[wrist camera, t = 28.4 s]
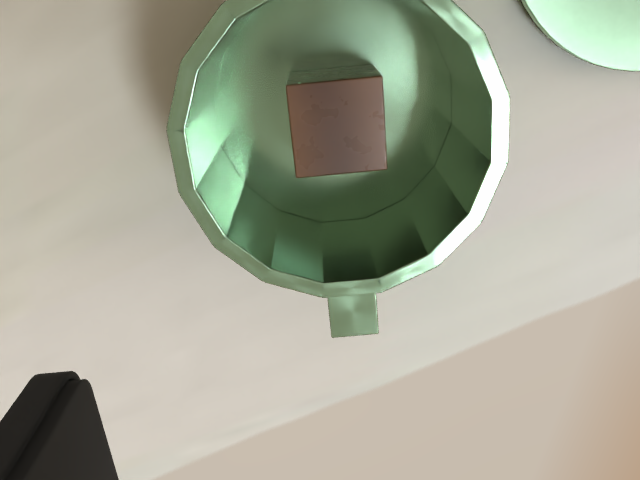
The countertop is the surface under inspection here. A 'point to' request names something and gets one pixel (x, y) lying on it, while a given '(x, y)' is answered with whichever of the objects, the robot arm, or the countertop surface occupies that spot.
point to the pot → (351, 188)
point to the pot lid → (592, 29)
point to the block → (337, 120)
